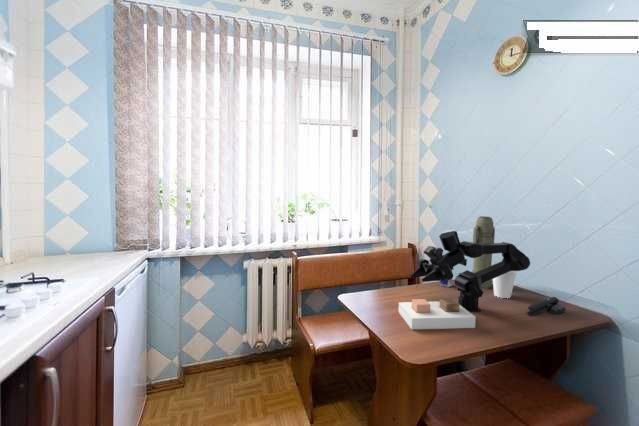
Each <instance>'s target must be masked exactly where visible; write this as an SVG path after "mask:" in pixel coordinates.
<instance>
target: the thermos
mask: <svg viewBox="0 0 639 426" xmlns="http://www.w3.org/2000/svg"><path fill="white" fill-rule="evenodd" d="M495 233H496V228H495V226H494V221H493V218H492V217H490V216H484V215H483V216H482V215H481V216H478V217H477V219H476V221H475V226H474V228H473V234H472V243H478V244H486V243H495ZM492 261H493V254H484V255H482V256H480V257H477V258H473V266H472V267H473V268H472V271H471V272H473V273H476V272H478V271H480V270H483V269H485V268H487V267H490V266H492V265H493V264H492ZM492 284H493V279H491V280H489V281H487V282H485V283H482V285H481V287H480V289H484V288H488V289H491V288H492ZM490 287H491V288H490Z"/></svg>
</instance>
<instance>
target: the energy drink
mask: <svg viewBox="0 0 639 426" xmlns="http://www.w3.org/2000/svg"><path fill="white" fill-rule="evenodd" d="M451 271H452V272H453V270H451ZM452 283H453V278H452V279H450V280H449V281H448V280H445V281H439V285H440V286H441V287H444V288H450V287H452V286H453V285H452Z"/></svg>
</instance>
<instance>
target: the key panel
mask: <svg viewBox="0 0 639 426" xmlns="http://www.w3.org/2000/svg"><path fill="white" fill-rule="evenodd" d="M427 302H428V303H429V304H430V313H416V312H415V311H414V310H413V309H412V301H402V302H398V314H399V315H400V316H401V318H403V320H404V321H405V323H406V324H407V325H408V327H409V328H410V329H411V330H440V329H441V330H443V329H445V330H446V329H448V330H449V329H475V328H476V318H477V317H476V316H475V315H474V314H472V313H471V311H467V310H466V309H465V308H463V307H462V306H461V305H460V306H459V312H445V311H444V310H442V309H441V308H440V301H427Z"/></svg>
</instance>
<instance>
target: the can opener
mask: <svg viewBox="0 0 639 426" xmlns="http://www.w3.org/2000/svg"><path fill="white" fill-rule="evenodd" d="M527 309H528V310H529V311H528V310H527V312H526V315H528V316H530V317H533V316H534V317H535V316H537V315H540V314H541V313H543V312H547V311H549V313H553V314H556V315H560V314H559V313H561V314H563V313H564V312H565V311H566V307H565V306H563V305H562V304H559V298H557V297H556V296H552V297H545V296H543V298H542V300H538V301H535V303H532V304H530V305H528V307H527ZM562 312H563V313H562Z"/></svg>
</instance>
